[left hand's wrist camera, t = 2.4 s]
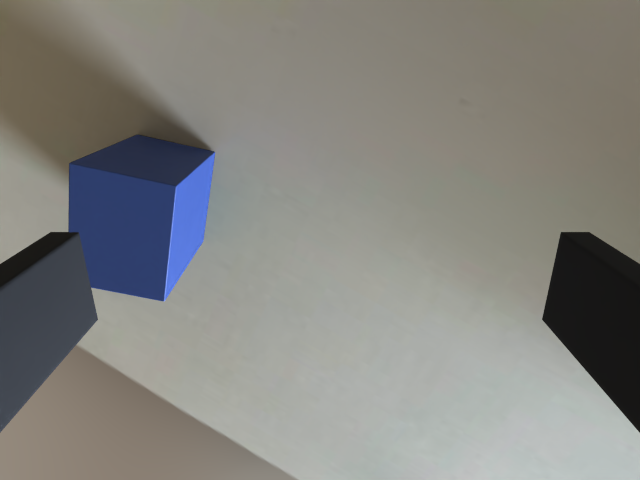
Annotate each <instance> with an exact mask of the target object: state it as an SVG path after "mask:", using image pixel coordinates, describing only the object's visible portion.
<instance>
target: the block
mask: <svg viewBox="0 0 640 480" xmlns="http://www.w3.org/2000/svg"><path fill="white" fill-rule="evenodd" d="M214 156H215V152H214V151H209V150H205V149H200V148H196V147H191V146H187V145H182V144H178V143H173V142H168V141H164V140H159V139H155V138H150V137H146V136H141V135H135V136H133V137H130V138H128V139H126V140H123V141H121V142H118V143H116V144H114V145H111V146H109V147H106V148H104V149H102V150H99V151H97V152H95V153H92V154H90V155H87V156H85V157H83V158H80V159H78V160H75V161H73V162H71V163H69V232H79V235H80V239H81V244H82V249H83V253H84V258H85V263H86V267H87V272H88V276H89V281H90V286H91V287H92V288H97V289H102V290H107V291H112V292H118V293H123V294H128V295H133V296H138V297H144V298H149V299H154V300H159V301H165V300H166V298H167V297H168V295H169V293H170V292H171V290H172V289H173V287H174V286H175V284H176V283H177V281H178V279H179V278H180V276H181V275H182V273H183V272H184V270H185V269H186V267H187V266H188V264H189V262H190V261H191V259H192V258H193V256H194V255H195V253H196V252H197V250H198V248H199V247H200V245H201V244H202V242H203V238H204V230H205V223H206V215H207V208H208V201H209V193H210V186H211V179H212V171H213V164H214Z"/></svg>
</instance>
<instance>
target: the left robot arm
mask: <svg viewBox="0 0 640 480" xmlns="http://www.w3.org/2000/svg"><path fill="white" fill-rule="evenodd" d="M97 320H98V318H97V314H96V309H95V304H94V300H93V295H92V290H91V286H90V281H89V276H88V272H87V267H86V263H85V258H84V253H83V249H82V244H81V239H80V235H79V232H50V233H49V234H47V235H46V236H44V237H42V238H41V239H39V240H38V241H36V242H35V243H33V244H31V245H30V246H28V247H27V248H25V249H23V250H22V251H20V252H19V253H17V254H16V255H14V256H12V257H11V258H9V259H8V260H6V261H4V262H3V263H1V264H0V432H1V431H2V430H3V429H4V428H5V426H6V425H7V424H8V423H9V422H10V421H11V419H12V418H13V417H14V416H15V415H16V414H17V412H18V411H19V410H20V409H21V408H22V407H23V406H24V404H25V403H26V402H27V401H28V400H29V399H30V397H31V396H32V395H33V394H34V393H35V392H36V390H37V389H38V388H39V387H40V386H41V385H42V383H43V382H44V381H45V380H46V379H47V378H48V377H49V375H50V374H51V373H52V372H53V371H54V370H55V368H56V367H57V366H58V365H59V364H60V363H61V362H62V360H63V359H64V358H65V357H66V356H67V355H68V353H69V352H70V351H71V350H72V349H73V348H74V346H75V345H76V344H77V343H78V342H79V341H80V340H81V338H82V337H83V336H84V335H85V334H86V333H87V331H88V330H89V329H90V328H91V327H92V326H93V324H94V323H95V322H96V321H97ZM542 320H543V321H544V322H545V323H546V324H547V326H548V327H549V328H550V329H551V330H552V331H553V333H554V334H555V335H556V336H557V337H558V338H559V340H560V341H561V342H562V343H563V344H564V345H565V346H566V348H567V349H568V350H569V351H570V352H571V353H572V355H573V356H574V357H575V358H576V359H577V360H578V362H579V363H580V364H581V365H582V366H583V367H584V368H585V370H586V371H587V372H588V373H589V374H590V375H591V377H592V378H593V379H594V380H595V381H596V382H597V384H598V385H599V386H600V387H601V388H602V389H603V390H604V392H605V393H606V394H607V395H608V396H609V397H610V399H611V400H612V401H613V402H614V403H615V404H616V406H617V407H618V408H619V409H620V410H621V411H622V412H623V414H624V415H625V416H626V417H627V418H628V419H629V421H630V422H631V423H632V424H633V425H634V426H635V428H636V429H637V430H638V431H639V432H640V264H639V263H637V262H636V261H634V260H632V259H631V258H629V257H628V256H626V255H624V254H623V253H621V252H620V251H618V250H617V249H615V248H613V247H612V246H610V245H609V244H607V243H605V242H604V241H602V240H601V239H599V238H598V237H596V236H594V235H593V234H591V233H590V232H561V235H560V239H559V244H558V249H557V253H556V258H555V263H554V267H553V272H552V276H551V281H550V286H549V290H548V295H547V300H546V304H545V309H544V314H543V318H542Z"/></svg>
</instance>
